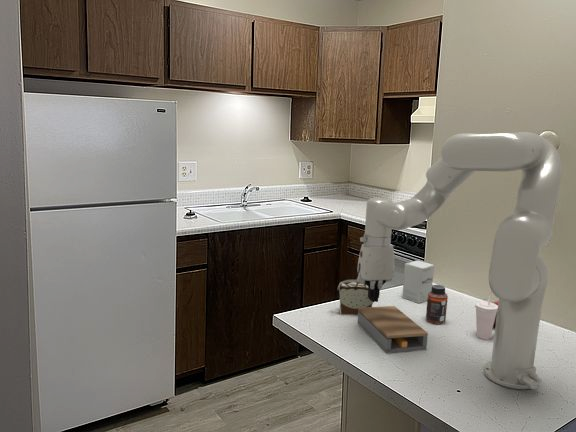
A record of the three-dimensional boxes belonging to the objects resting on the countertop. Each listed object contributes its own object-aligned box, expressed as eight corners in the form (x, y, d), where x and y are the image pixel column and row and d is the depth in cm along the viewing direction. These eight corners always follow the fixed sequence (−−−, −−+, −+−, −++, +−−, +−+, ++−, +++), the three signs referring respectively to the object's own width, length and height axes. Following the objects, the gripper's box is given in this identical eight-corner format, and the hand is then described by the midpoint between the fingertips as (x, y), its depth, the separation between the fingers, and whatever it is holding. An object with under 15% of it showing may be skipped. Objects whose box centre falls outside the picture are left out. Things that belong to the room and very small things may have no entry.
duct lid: (427, 335, 141) (427, 332, 140) (387, 338, 137) (387, 335, 137) (394, 308, 159) (394, 305, 159) (358, 310, 156) (358, 307, 156)
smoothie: (497, 342, 147) (502, 295, 144) (473, 339, 148) (478, 293, 145) (492, 332, 153) (498, 288, 150) (470, 330, 154) (475, 286, 151)
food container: (373, 309, 169) (375, 280, 167) (375, 316, 163) (377, 286, 161) (336, 307, 170) (337, 278, 168) (336, 314, 164) (337, 284, 162)
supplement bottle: (447, 325, 158) (451, 290, 155) (428, 324, 158) (431, 289, 156) (442, 317, 164) (445, 283, 161) (423, 316, 164) (426, 283, 161)
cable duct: (426, 349, 141) (427, 335, 141) (386, 353, 138) (387, 339, 137) (393, 320, 160) (394, 308, 159) (357, 323, 157) (358, 311, 156)
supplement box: (419, 304, 175) (422, 268, 172) (401, 297, 180) (404, 263, 178) (431, 299, 179) (435, 264, 177) (414, 293, 185) (417, 259, 182)
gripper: (358, 244, 143) (354, 307, 147) (407, 242, 147) (402, 303, 151) (348, 238, 150) (344, 297, 154) (395, 236, 154) (390, 294, 158)
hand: (373, 300), depth 152 cm, fingers closed
